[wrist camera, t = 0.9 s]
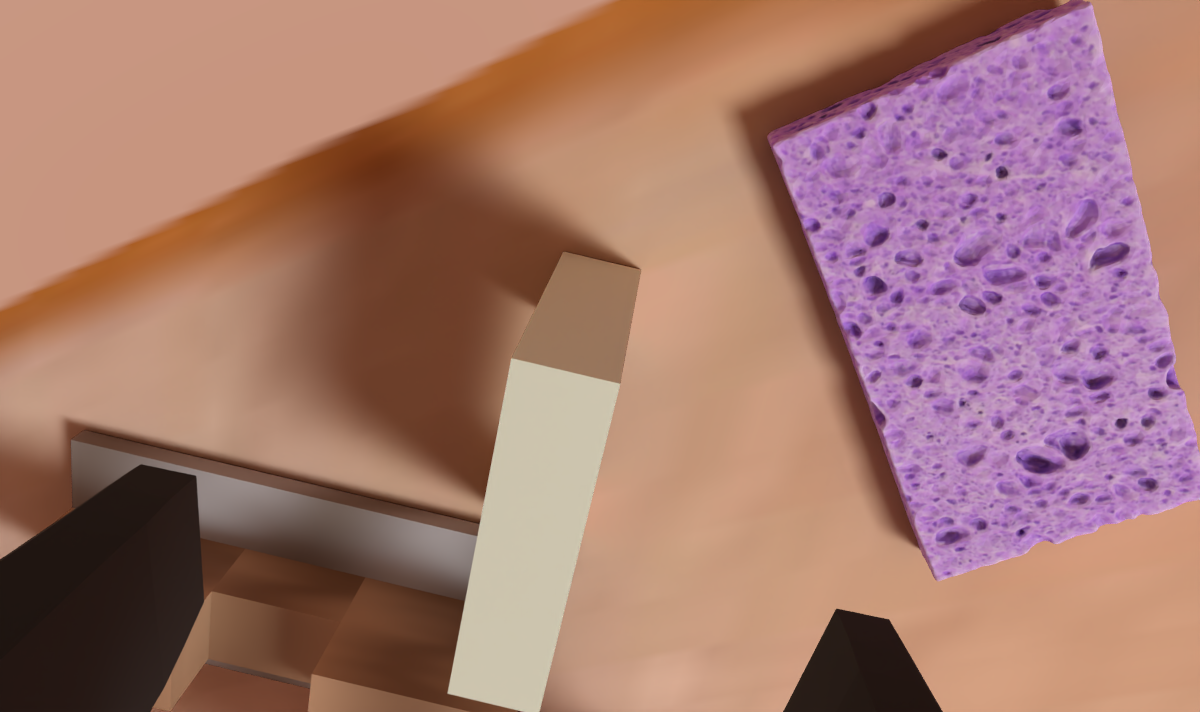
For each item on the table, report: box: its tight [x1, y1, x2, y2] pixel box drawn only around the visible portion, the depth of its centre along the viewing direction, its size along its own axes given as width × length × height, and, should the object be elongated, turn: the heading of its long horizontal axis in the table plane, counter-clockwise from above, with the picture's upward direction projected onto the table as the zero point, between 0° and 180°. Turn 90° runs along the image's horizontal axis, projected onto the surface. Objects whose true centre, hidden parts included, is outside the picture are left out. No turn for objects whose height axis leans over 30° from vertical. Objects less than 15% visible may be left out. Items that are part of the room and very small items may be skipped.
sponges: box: [767, 0, 1200, 581], centre depth 22 cm, size 7×13×2 cm, turn 24°
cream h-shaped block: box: [448, 251, 641, 712], centre depth 21 cm, size 8×2×7 cm, turn 168°
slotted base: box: [57, 430, 518, 712], centre depth 25 cm, size 14×7×5 cm, turn 78°
